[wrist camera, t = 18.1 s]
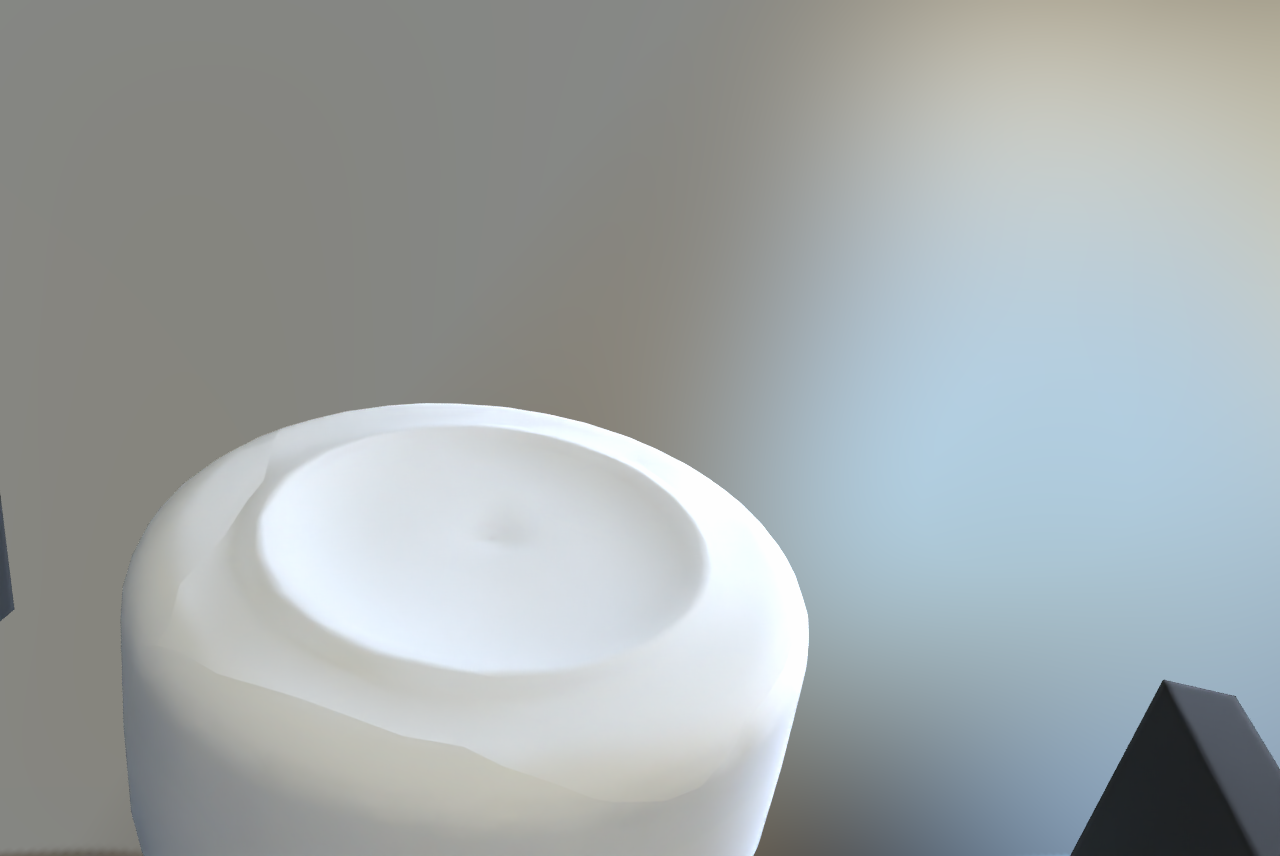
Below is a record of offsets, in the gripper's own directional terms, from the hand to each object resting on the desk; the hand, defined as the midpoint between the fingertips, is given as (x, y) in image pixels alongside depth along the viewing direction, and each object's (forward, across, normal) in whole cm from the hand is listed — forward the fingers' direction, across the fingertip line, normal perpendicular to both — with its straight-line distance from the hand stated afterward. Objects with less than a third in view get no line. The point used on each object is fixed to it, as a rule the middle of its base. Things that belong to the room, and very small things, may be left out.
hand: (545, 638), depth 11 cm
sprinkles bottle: (-3, 0, -10) cm, 11 cm away
